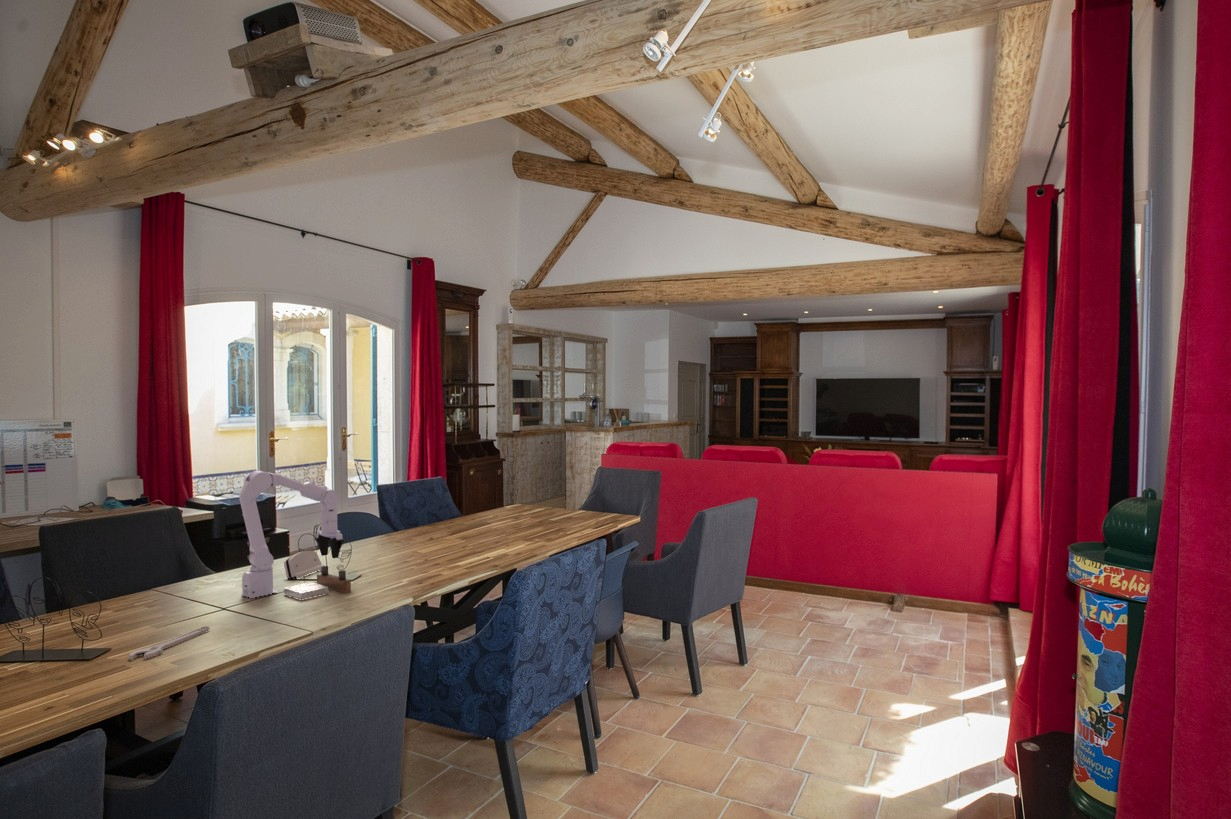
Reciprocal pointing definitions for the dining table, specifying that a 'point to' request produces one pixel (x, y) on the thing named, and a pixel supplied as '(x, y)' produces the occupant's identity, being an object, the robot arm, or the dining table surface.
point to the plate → (306, 590)
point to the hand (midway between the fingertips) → (329, 556)
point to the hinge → (302, 564)
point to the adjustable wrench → (166, 644)
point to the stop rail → (334, 580)
